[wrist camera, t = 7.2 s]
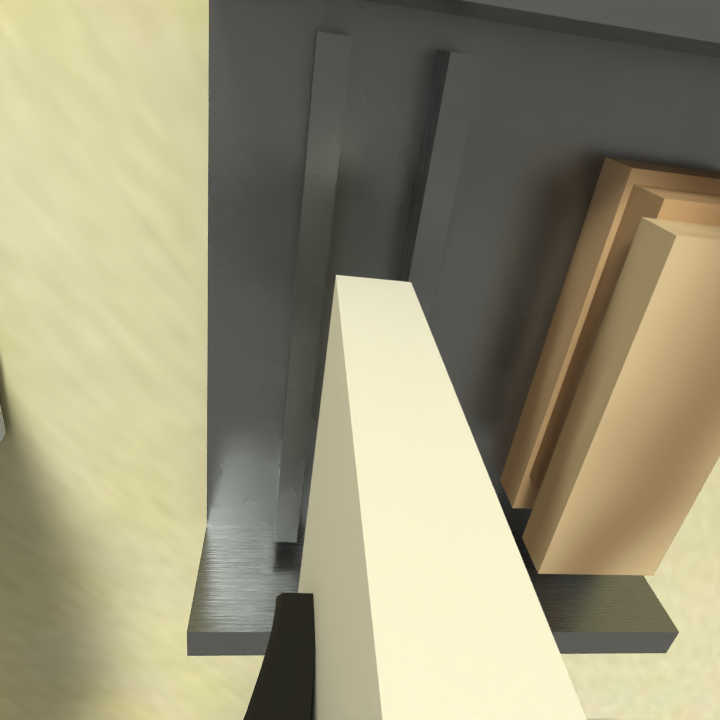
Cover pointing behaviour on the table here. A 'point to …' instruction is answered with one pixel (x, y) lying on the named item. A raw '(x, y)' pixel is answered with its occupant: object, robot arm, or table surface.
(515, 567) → the white block
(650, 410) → the offcut stack
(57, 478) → the table surface
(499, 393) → the rack
